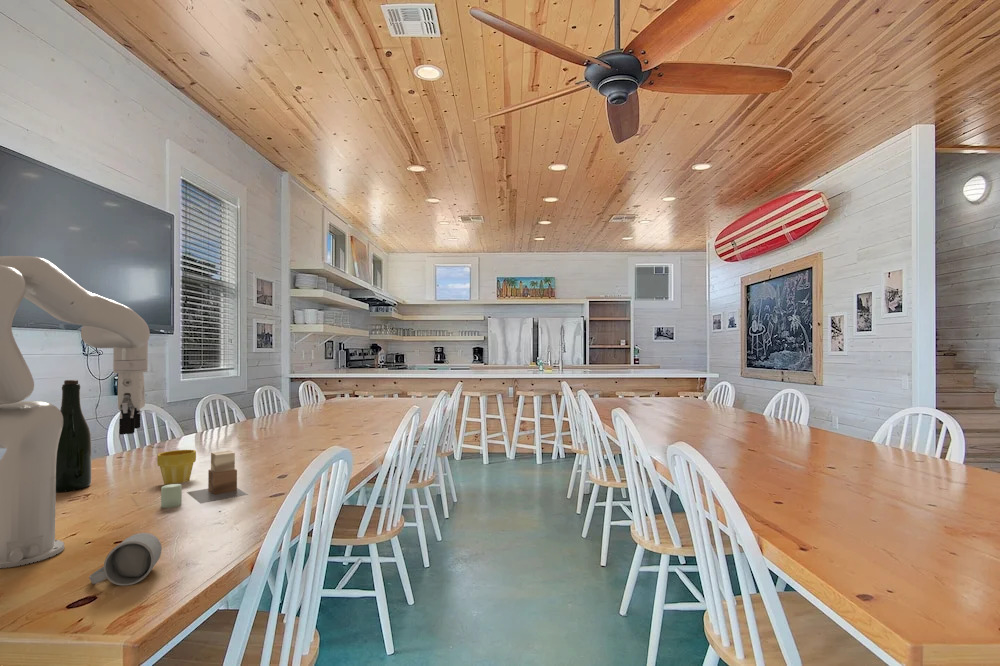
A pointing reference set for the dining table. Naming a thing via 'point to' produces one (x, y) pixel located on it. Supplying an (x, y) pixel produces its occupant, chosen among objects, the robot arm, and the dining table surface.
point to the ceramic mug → (130, 560)
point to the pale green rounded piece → (171, 495)
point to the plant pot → (176, 465)
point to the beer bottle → (73, 442)
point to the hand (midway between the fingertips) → (130, 431)
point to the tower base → (222, 481)
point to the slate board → (207, 496)
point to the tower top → (222, 461)
